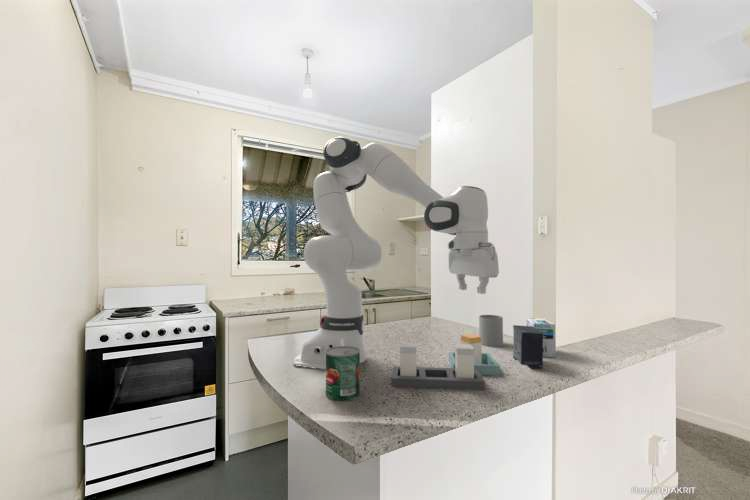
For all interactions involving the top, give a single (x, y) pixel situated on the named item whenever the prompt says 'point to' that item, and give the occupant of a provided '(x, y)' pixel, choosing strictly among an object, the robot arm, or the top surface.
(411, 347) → the block
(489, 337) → the cup
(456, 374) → the block
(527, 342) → the small box
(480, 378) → the block
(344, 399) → the canned tomato
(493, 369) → the tray
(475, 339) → the block
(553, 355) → the light bulb box
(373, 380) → the top surface
